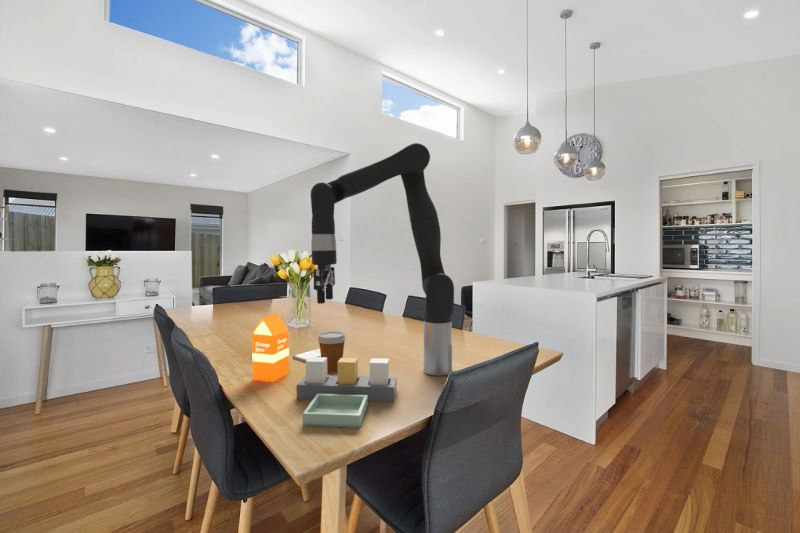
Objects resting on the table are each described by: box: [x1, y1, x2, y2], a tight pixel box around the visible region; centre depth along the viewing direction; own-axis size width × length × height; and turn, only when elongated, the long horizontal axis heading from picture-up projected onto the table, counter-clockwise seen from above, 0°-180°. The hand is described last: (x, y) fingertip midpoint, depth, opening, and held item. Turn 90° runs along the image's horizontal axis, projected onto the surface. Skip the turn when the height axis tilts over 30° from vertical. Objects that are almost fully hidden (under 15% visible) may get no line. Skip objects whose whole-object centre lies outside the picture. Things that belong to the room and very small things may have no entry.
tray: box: [302, 394, 369, 429], centre depth 92 cm, size 14×12×3 cm
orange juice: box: [251, 312, 290, 383], centre depth 119 cm, size 8×9×20 cm
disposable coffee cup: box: [317, 331, 347, 373], centre depth 126 cm, size 10×10×12 cm
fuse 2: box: [369, 357, 390, 385], centre depth 104 cm, size 5×4×10 cm
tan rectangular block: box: [337, 357, 359, 384], centre depth 104 cm, size 5×4×10 cm
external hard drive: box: [292, 348, 321, 363], centre depth 141 cm, size 2×8×12 cm
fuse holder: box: [296, 374, 398, 403], centre depth 104 cm, size 27×8×4 cm, turn 86°
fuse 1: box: [305, 357, 328, 384], centre depth 105 cm, size 5×4×10 cm
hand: (325, 301), depth 115 cm, fingers open, 8 cm apart
